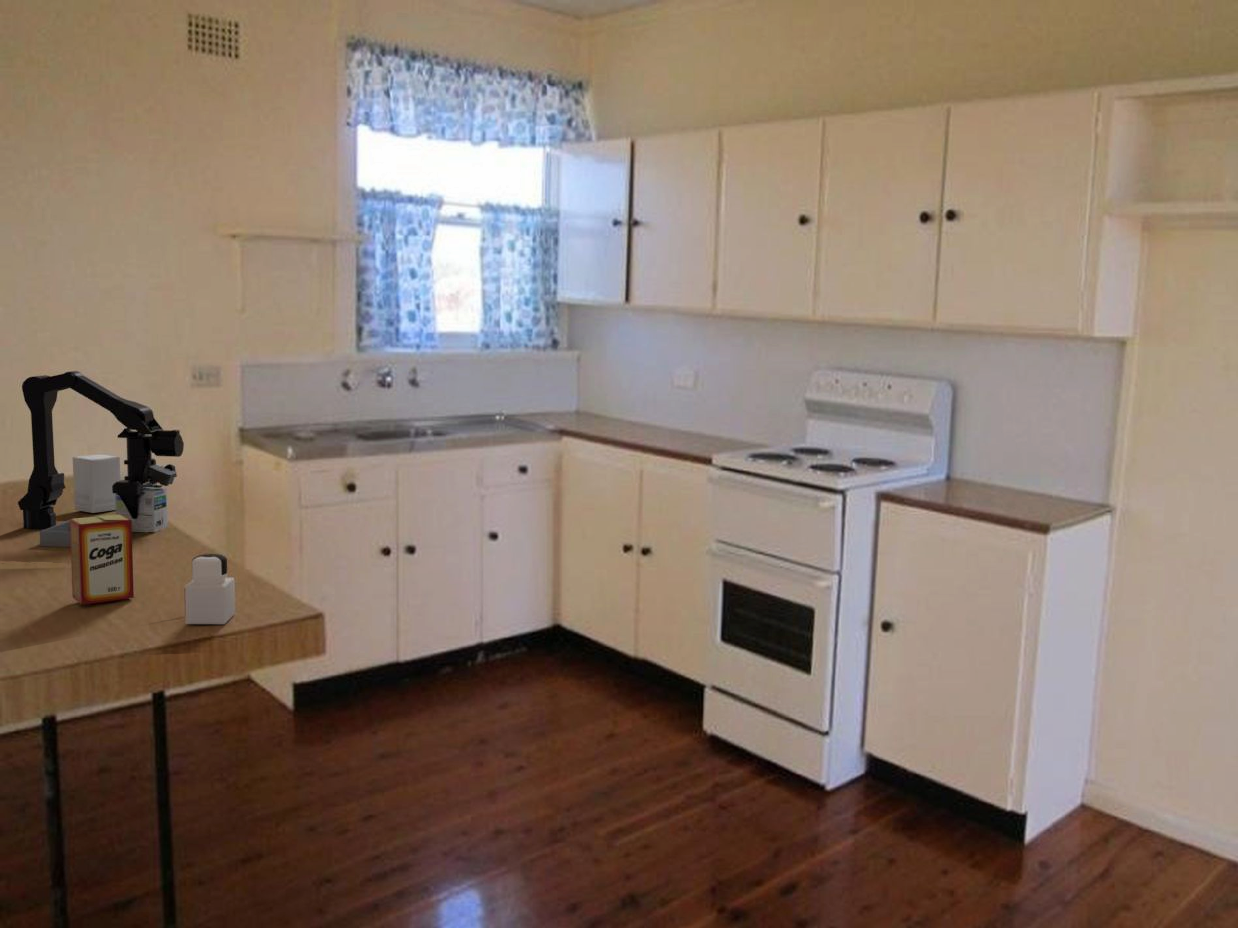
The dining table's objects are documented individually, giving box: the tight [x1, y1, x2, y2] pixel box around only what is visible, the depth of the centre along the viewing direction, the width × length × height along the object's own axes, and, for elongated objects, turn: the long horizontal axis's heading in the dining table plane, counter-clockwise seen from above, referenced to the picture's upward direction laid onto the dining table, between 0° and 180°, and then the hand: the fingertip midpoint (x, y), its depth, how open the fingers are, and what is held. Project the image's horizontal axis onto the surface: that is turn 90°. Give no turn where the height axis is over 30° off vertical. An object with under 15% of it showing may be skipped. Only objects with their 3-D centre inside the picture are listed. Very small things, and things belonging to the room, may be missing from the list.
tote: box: [39, 519, 134, 548], centre depth 262 cm, size 15×15×4 cm
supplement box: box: [72, 454, 121, 514], centre depth 300 cm, size 9×9×15 cm
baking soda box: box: [69, 514, 134, 606], centre depth 211 cm, size 10×6×16 cm
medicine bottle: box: [184, 553, 236, 625], centre depth 199 cm, size 7×7×12 cm
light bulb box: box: [115, 487, 169, 533], centre depth 275 cm, size 11×7×11 cm, turn 84°
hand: (141, 516), depth 275 cm, fingers closed on light bulb box, 7 cm apart
